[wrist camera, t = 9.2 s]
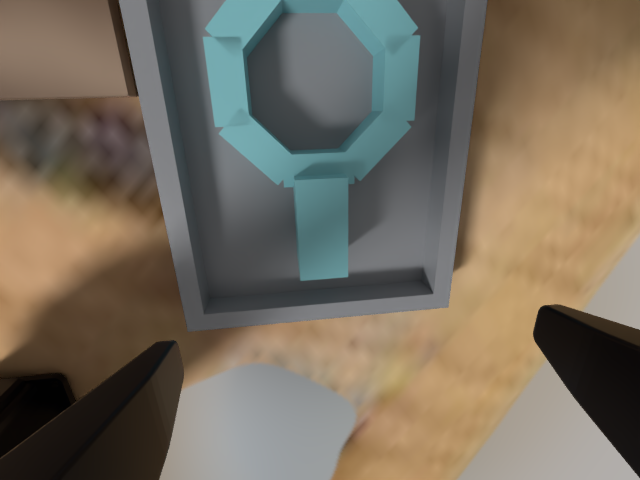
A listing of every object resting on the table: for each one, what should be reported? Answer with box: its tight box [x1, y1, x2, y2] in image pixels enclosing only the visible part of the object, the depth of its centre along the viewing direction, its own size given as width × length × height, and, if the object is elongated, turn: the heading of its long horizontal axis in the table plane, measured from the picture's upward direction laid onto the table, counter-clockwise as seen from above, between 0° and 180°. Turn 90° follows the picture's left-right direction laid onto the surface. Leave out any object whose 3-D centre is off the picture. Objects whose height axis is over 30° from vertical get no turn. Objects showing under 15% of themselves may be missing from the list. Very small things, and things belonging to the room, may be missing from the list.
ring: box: [203, 0, 420, 281], centre depth 15 cm, size 14×9×3 cm, turn 2°
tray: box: [119, 0, 488, 332], centre depth 16 cm, size 20×15×2 cm
